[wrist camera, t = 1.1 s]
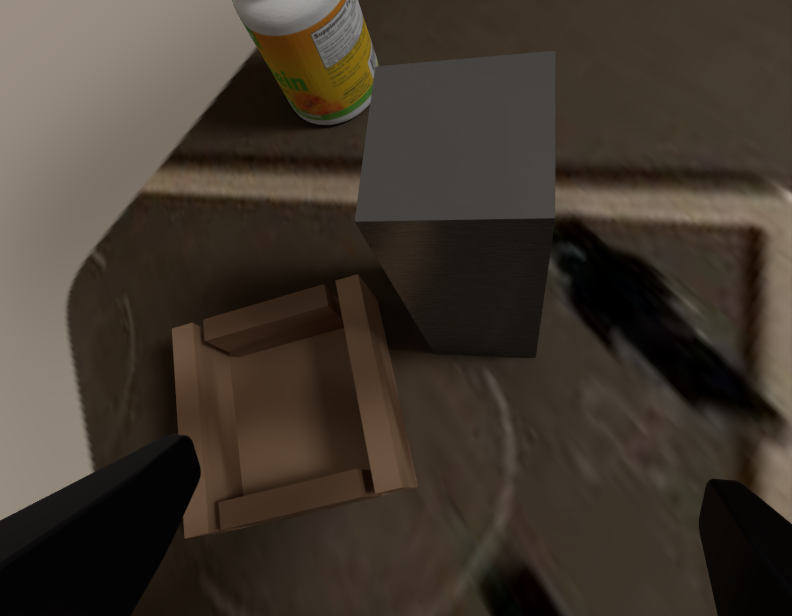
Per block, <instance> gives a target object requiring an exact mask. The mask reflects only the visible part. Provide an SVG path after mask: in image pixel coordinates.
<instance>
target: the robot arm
mask: <svg viewBox="0 0 792 616" xmlns="http://www.w3.org/2000/svg"><path fill="white" fill-rule="evenodd" d="M200 477H201V467H200V464H199V460H198V457H197V454H196V450H195V447H194V444H193V441H192V439H191V438H190V437H189V436H187V435H177V434H169V435H166V436H164V437H162V438H160V439H158V440H156V441H154V442H152V443H150V444H148V445H146V446H144V447H142V448H140V449H138V450H137V451H135V452H133V453H131V454H129V455H127V456H125V457H123V458H121V459H119V460H117V461H115V462H113V463H111V464H109V465H107V466H105V467H103V468H102V469H100V470H98V471H96V472H94V473H92V474H90V475H88V476H86V477H84V478H82V479H80V480H78V481H76V482H74V483H72V484H70V485H69V486H67V487H65V488H63V489H61V490H59V491H57V492H55V493H53V494H51V495H50V496H47V497H45V498H43V499H41V500H39V501H37V502H35V503H33V504H32V505H30V506H28V507H26V508H24V509H22V510H20V511H18V512H16V513H14V514H12V515H10V516H8V517H6V518H4V519H2V520H0V616H130V615H131V614H132V612H133V610H134V608H135V607H136V605H137V603H138V602H139V600H140V598H141V596H142V595H143V593H144V591H145V589H146V588H147V586H148V584H149V582H150V581H151V579H152V577H153V576H154V574H155V572H156V570H157V569H158V567H159V565H160V563H161V561H162V560H163V558H164V556H165V554H166V552H167V550H168V548H169V546H170V544H171V542H172V540H173V538H174V535H175V533H176V531H177V529H178V527H179V524H180V522H181V520H182V518H183V516H184V514H185V511H186V509H187V507H188V505H189V503H190V501H191V498H192V496H193V494H194V492H195V490H196V488H197V485H198V483H199V480H200ZM699 532H700V537H701V541H702V546H703V550H704V555H705V560H706V564H707V569H708V573H709V578H710V582H711V587H712V591H713V596H714V600H715V605H716V609H717V614H718V616H792V524H791V523H790V522H789V521H787V520H786V519H785V518H784V517H783V516H781V515H780V514H779V513H778V512H776V511H775V510H774V509H773V508H772V507H770V506H769V505H768V504H767V503H766V502H764V501H763V500H762V499H761V498H759V497H758V496H757V495H756V494H755V493H753V492H752V491H751V490H750V489H749V488H747V487H746V486H745V485H744V484H742V483H740V482H738V481H734V480H722V479H711V480H709V481H708V483H707V485H706V488H705V493H704V497H703V502H702V507H701V511H700V516H699Z"/></svg>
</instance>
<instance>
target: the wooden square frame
mask: <svg viewBox="0 0 792 616" xmlns="http://www.w3.org/2000/svg"><path fill="white" fill-rule="evenodd" d="M336 287H337V292H338V297H339V299H338V298H337V297H336V296H335V295H334V294H333V293H332V292H331V291H330V290H329V289H328V287H327V286H326V285H325V284H322V285H319V286H316V287H312V288H309V289H305V290H302V291H299V292H295V293H292V294H288V295H285V296H282V297H278V298H275V299H271V300H268V301H265V302H261V303H258V304H254V305H251V306H247V307H244V308H241V309H237V310H234V311H230V312H227V313H224V314H220V315H217V316H213V317H210V318H207V319H203V325H204V328H202V327H200V326H198V325H196V324H194V323H190V324H186V325H183V326H179V327H176V328H173V329H172V338H173V355H174V371H175V388H176V404H177V421H178V435H187V436H189V437H190V438H191V439H192V441H193V444H194V447H195V450H196V454H197V457H198V460H199V464H200V467H201V477H200V480H199V483H198V485H197V488H196V490H195V492H194V494H193V496H192V498H191V501H190V503H189V505H188V507H187V509H186V511H185V514H184V516H183V520H184V537H185V539H186V538H192V537H199V536H206V535H212V534H219V533H226V532H231V531H235V530H239V529H244V528H248V527H252V526H256V525H261V524H265V523H269V522H274V521H278V520H282V519H286V518H291V517H295V516H299V515H303V514H308V513H312V512H316V511H320V510H325V509H329V508H333V507H337V506H342V505H346V504H350V503H354V502H359V501H363V500H367V499H372V498H376V497H380V496H384V495H389V494H393V493H397V492H401V491H406V490H410V489H414V488H418V485H417V480H416V475H415V471H414V466H413V462H412V457H411V452H410V448H409V443H408V438H407V434H406V429H405V424H404V420H403V415H402V411H401V406H400V401H399V397H398V392H397V387H396V383H395V378H394V373H393V369H392V364H391V360H390V355H389V350H388V346H387V341H386V336H385V332H384V327H383V322H382V318H381V313H380V309H379V304H378V300H377V299H376V298H375V296H374V295H373V293H372V292H371V291H370V289H369V288H368V287H367V285H366V284H365V283H364V281H363V280H362V279H361V277H360V276H359V275H358V274H357V275H353V276H350V277H346V278H343V279H339V280H336Z"/></svg>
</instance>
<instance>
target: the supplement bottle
mask: <svg viewBox="0 0 792 616" xmlns="http://www.w3.org/2000/svg"><path fill="white" fill-rule="evenodd" d="M232 1H233V5H234V7H235V9H236V11H237V13H238V15H239V17H240V19H241V21H242V22H243V24H244V26H245V27H246V29H247V31H248V33H249V34H250V36H251V38H252V39H253V41H254V43H255V45H256V46H257V48H258V50H259V51H260V53H261V55H262V56H263V58H264V60H265V62H266V63H267V65H268V67H269V68H270V70H271V72H272V74H273V75H274V77H275V79H276V81H277V82H278V84H279V86H280V87H281V89H282V91H283V93H284V94H285V96H286V98H287V100H288V101H289V103H290V105H291V106H292V108H293V109H294V111H295V112H296V113H297V114H298V115H299V116H300V117H301V118H303V119H304V120H306V121H308V122H311V123H314V124H319V125H333V124H339V123H342V122H345V121H348V120H350V119H352V118H354V117H355V116H357V115H358V114H360V113H361V112H362V111H363V110H364V109H366V108H367V106H368V105H369V104H370V102H371V94H372V87H373V79H374V71H375V67H376V66H379V65H378V61H377V58H376V54H375V51H374V48H373V45H372V42H371V39H370V36H369V33H368V30H367V27H366V24H365V21H364V18H363V15H362V12H361V8H360V5H359V2H358V0H232Z"/></svg>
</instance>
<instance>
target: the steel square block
mask: <svg viewBox="0 0 792 616" xmlns="http://www.w3.org/2000/svg"><path fill="white" fill-rule="evenodd" d="M355 223H356V224H357V226H358V228H359V229H360V231H361V233H362V234H363V236H364V238H365V239H366V241H367V243H368V244H369V246H370V248H371V249H372V251H373V253H374V254H375V256H376V258H377V259H378V261H379V263H380V264H381V266H382V268H383V269H384V271H385V273H386V274H387V276H388V278H389V279H390V281H391V283H392V284H393V286H394V288H395V289H396V291H397V293H398V294H399V296H400V298H401V299H402V301H403V303H404V304H405V306H406V308H407V309H408V311H409V313H410V314H411V316H412V318H413V319H414V321H415V323H416V324H417V326H418V328H419V329H420V331H421V333H422V334H423V336H424V338H425V339H426V341H427V343H428V344H429V346H430V348H431V349H432V351H433V353H435V354H459V355H484V356H508V357H532V358H536V351H537V344H538V337H539V330H540V323H541V316H542V309H543V301H544V294H545V287H546V280H547V273H548V266H549V258H550V251H551V244H552V237H553V230H554V223H555V51H549V52H537V53H526V54H514V55H503V56H491V57H480V58H468V59H457V60H445V61H434V62H422V63H411V64H399V65H388V66H376V67H375V71H374V79H373V87H372V94H371V102H370V109H369V117H368V125H367V132H366V140H365V148H364V155H363V163H362V170H361V178H360V186H359V193H358V201H357V209H356V216H355Z"/></svg>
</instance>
